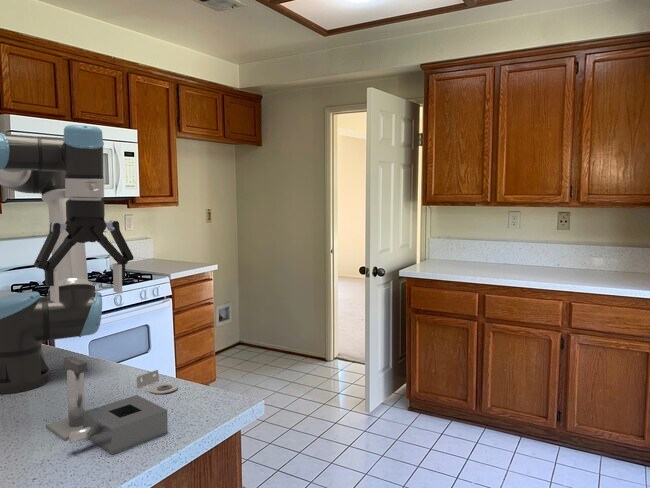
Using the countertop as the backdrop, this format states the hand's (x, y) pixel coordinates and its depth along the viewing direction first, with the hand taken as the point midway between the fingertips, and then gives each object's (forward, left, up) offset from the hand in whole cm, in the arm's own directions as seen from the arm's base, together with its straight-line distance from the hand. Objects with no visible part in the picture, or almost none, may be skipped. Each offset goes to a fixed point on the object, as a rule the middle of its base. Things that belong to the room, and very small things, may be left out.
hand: (87, 296), depth 111 cm
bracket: (-4, +20, -28) cm, 34 cm away
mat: (+3, -4, -27) cm, 28 cm away
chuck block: (+14, -2, -27) cm, 31 cm away
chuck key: (+3, -4, -27) cm, 27 cm away
